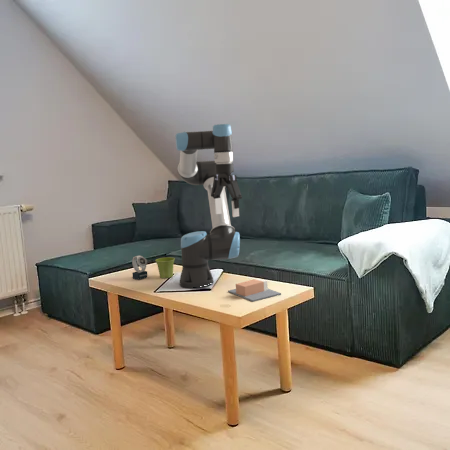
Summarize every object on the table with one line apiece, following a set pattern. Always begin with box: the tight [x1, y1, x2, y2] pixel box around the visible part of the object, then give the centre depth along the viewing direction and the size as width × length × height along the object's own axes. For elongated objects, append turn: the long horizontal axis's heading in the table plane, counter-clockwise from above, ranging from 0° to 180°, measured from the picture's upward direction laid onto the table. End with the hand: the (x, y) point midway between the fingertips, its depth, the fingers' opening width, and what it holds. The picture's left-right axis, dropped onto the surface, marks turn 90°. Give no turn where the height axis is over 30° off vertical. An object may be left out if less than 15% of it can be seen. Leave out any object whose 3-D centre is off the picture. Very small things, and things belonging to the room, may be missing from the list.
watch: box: [131, 254, 148, 281], centre depth 242 cm, size 6×8×11 cm
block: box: [235, 278, 269, 296], centre depth 207 cm, size 6×4×12 cm
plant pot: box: [154, 256, 176, 279], centre depth 242 cm, size 9×9×9 cm
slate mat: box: [228, 288, 282, 303], centre depth 207 cm, size 18×14×1 cm
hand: (226, 215), depth 206 cm, fingers open, 13 cm apart
